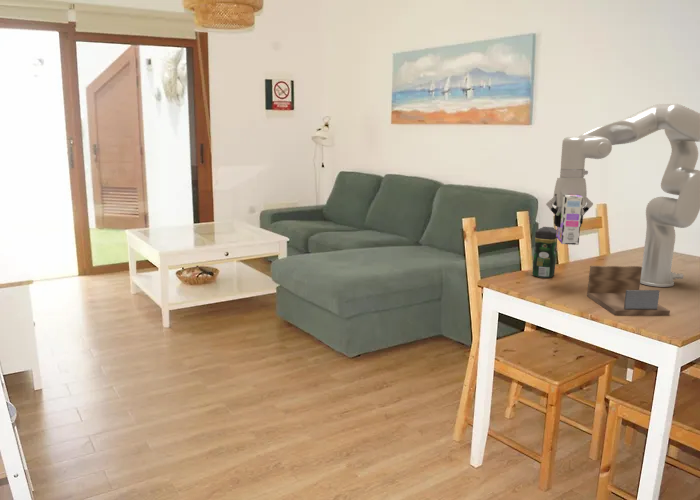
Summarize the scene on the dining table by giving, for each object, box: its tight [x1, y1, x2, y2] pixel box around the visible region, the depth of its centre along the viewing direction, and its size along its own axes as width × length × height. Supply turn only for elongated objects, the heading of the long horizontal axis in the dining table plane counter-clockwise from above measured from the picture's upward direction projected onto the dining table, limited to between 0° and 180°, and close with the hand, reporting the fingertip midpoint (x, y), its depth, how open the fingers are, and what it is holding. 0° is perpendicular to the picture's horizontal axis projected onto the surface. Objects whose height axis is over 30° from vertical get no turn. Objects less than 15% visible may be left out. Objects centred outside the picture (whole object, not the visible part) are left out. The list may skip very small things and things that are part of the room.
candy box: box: [556, 195, 583, 246], centre depth 203 cm, size 14×6×16 cm, turn 169°
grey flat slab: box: [624, 289, 660, 310], centre depth 181 cm, size 10×1×6 cm, turn 92°
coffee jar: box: [532, 226, 558, 279], centre depth 224 cm, size 10×8×19 cm
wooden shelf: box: [586, 265, 671, 316], centre depth 189 cm, size 17×20×10 cm
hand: (567, 225), depth 204 cm, fingers closed on candy box, 6 cm apart
